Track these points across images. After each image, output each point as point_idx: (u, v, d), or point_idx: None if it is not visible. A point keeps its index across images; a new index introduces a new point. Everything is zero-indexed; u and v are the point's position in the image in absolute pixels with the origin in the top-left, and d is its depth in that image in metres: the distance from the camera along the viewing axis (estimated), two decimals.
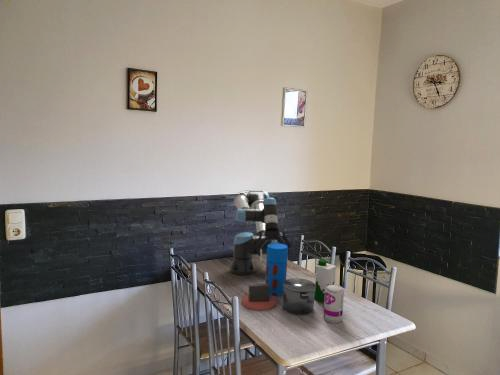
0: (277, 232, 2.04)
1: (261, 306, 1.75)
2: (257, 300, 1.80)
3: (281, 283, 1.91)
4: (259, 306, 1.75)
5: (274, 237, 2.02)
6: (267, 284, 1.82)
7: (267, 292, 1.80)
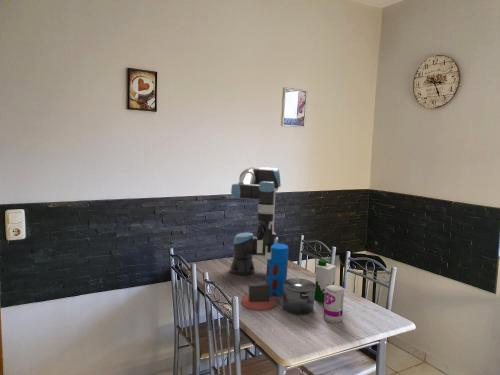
0: (264, 224, 1.78)
1: (261, 306, 1.75)
2: (257, 300, 1.80)
3: (281, 283, 1.91)
4: (259, 306, 1.75)
5: (263, 230, 1.80)
6: (267, 284, 1.82)
7: (267, 292, 1.80)
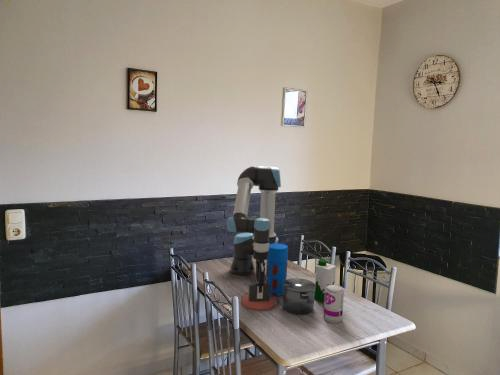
0: (259, 263, 1.76)
1: (261, 306, 1.75)
2: (257, 300, 1.80)
3: (281, 283, 1.91)
4: (259, 306, 1.75)
5: None
6: (267, 284, 1.81)
7: (267, 292, 1.80)
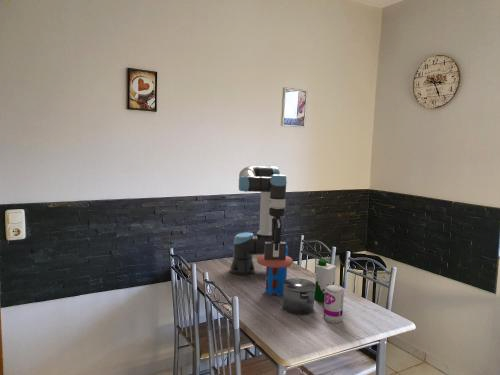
0: (275, 219, 1.72)
1: (277, 263, 1.70)
2: (273, 258, 1.76)
3: (281, 283, 1.91)
4: (275, 263, 1.70)
5: None
6: (283, 242, 1.77)
7: (283, 250, 1.76)
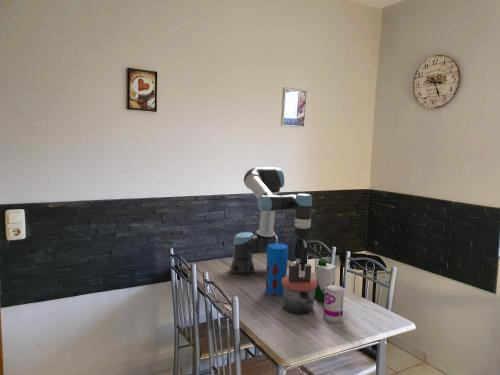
0: (301, 239, 1.70)
1: (303, 286, 1.69)
2: (298, 281, 1.74)
3: None
4: (301, 286, 1.69)
5: None
6: (308, 264, 1.76)
7: (308, 273, 1.75)
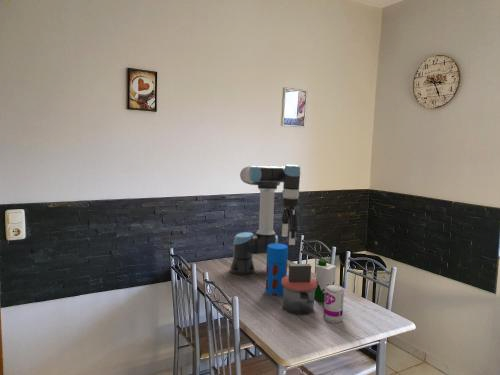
0: (289, 209, 1.74)
1: (303, 286, 1.69)
2: (298, 281, 1.74)
3: None
4: (301, 286, 1.69)
5: None
6: (308, 264, 1.76)
7: (308, 273, 1.75)
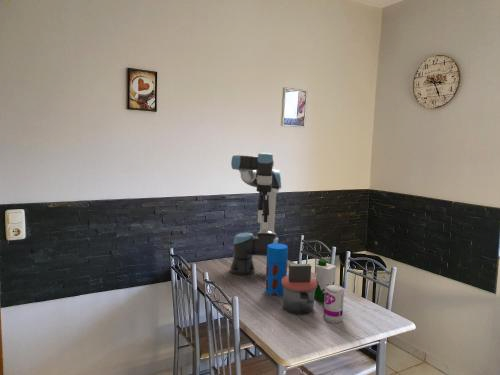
0: (262, 195, 1.83)
1: (303, 286, 1.69)
2: (298, 281, 1.74)
3: None
4: (301, 286, 1.69)
5: None
6: (308, 264, 1.76)
7: (308, 273, 1.75)
